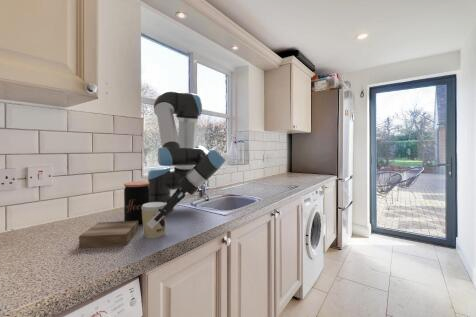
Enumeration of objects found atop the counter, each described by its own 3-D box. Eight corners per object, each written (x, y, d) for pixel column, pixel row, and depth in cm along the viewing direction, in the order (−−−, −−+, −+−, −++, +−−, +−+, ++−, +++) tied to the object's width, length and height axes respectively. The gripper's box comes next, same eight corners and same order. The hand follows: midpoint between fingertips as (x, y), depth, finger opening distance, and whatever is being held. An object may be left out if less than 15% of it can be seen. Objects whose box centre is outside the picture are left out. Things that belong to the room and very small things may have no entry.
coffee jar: (119, 223, 103) (118, 183, 102) (138, 217, 112) (138, 180, 112) (135, 227, 98) (135, 185, 97) (154, 220, 108) (154, 182, 107)
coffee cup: (158, 240, 85) (158, 208, 84) (136, 237, 86) (136, 206, 86) (171, 231, 94) (171, 202, 93) (150, 229, 96) (150, 201, 95)
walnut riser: (99, 231, 92) (99, 222, 92) (138, 230, 94) (138, 220, 94) (79, 247, 77) (78, 236, 77) (126, 245, 80) (126, 234, 79)
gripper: (198, 194, 79) (153, 239, 77) (199, 183, 104) (165, 217, 102) (182, 179, 78) (137, 224, 76) (187, 172, 103) (152, 206, 101)
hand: (153, 220), depth 89 cm, fingers open, 13 cm apart
